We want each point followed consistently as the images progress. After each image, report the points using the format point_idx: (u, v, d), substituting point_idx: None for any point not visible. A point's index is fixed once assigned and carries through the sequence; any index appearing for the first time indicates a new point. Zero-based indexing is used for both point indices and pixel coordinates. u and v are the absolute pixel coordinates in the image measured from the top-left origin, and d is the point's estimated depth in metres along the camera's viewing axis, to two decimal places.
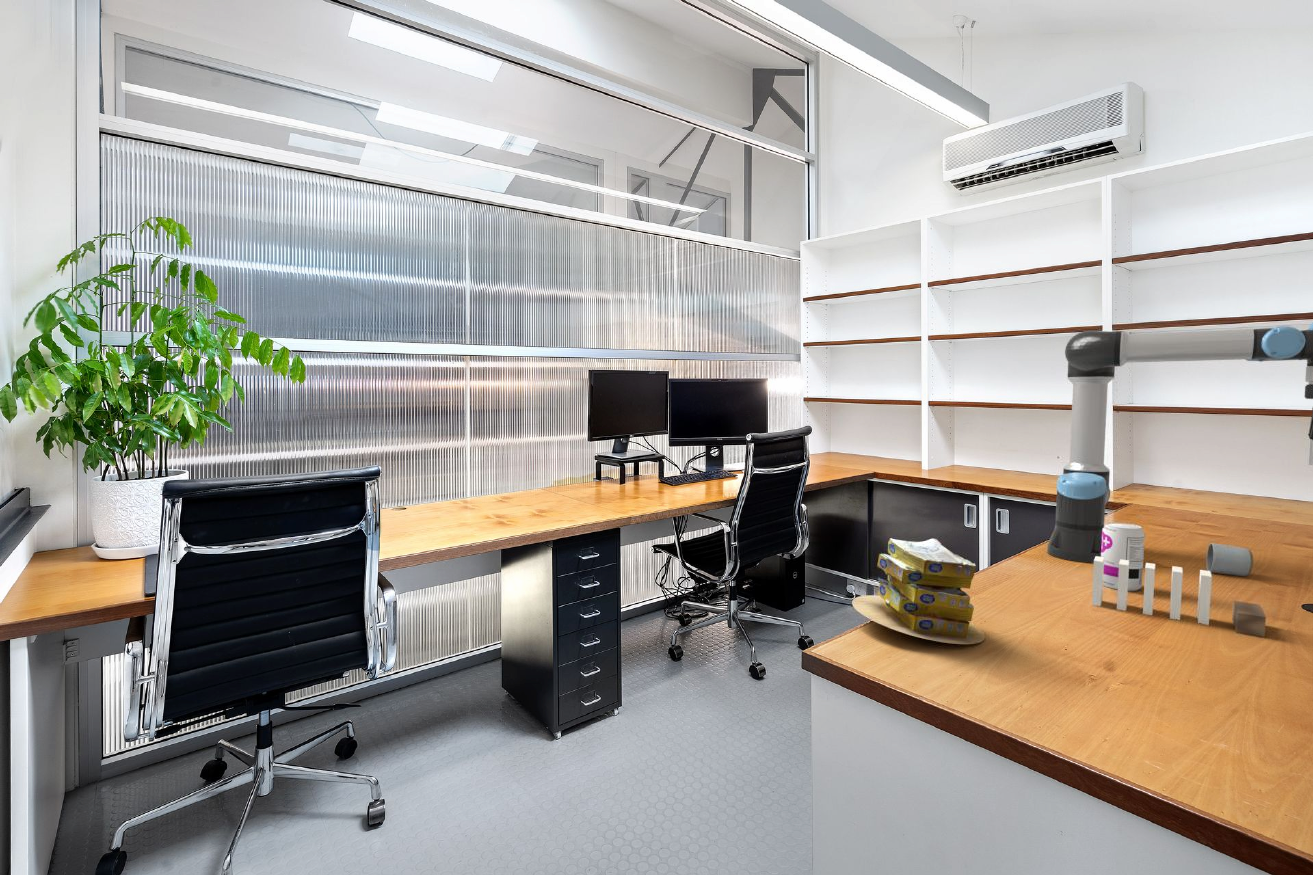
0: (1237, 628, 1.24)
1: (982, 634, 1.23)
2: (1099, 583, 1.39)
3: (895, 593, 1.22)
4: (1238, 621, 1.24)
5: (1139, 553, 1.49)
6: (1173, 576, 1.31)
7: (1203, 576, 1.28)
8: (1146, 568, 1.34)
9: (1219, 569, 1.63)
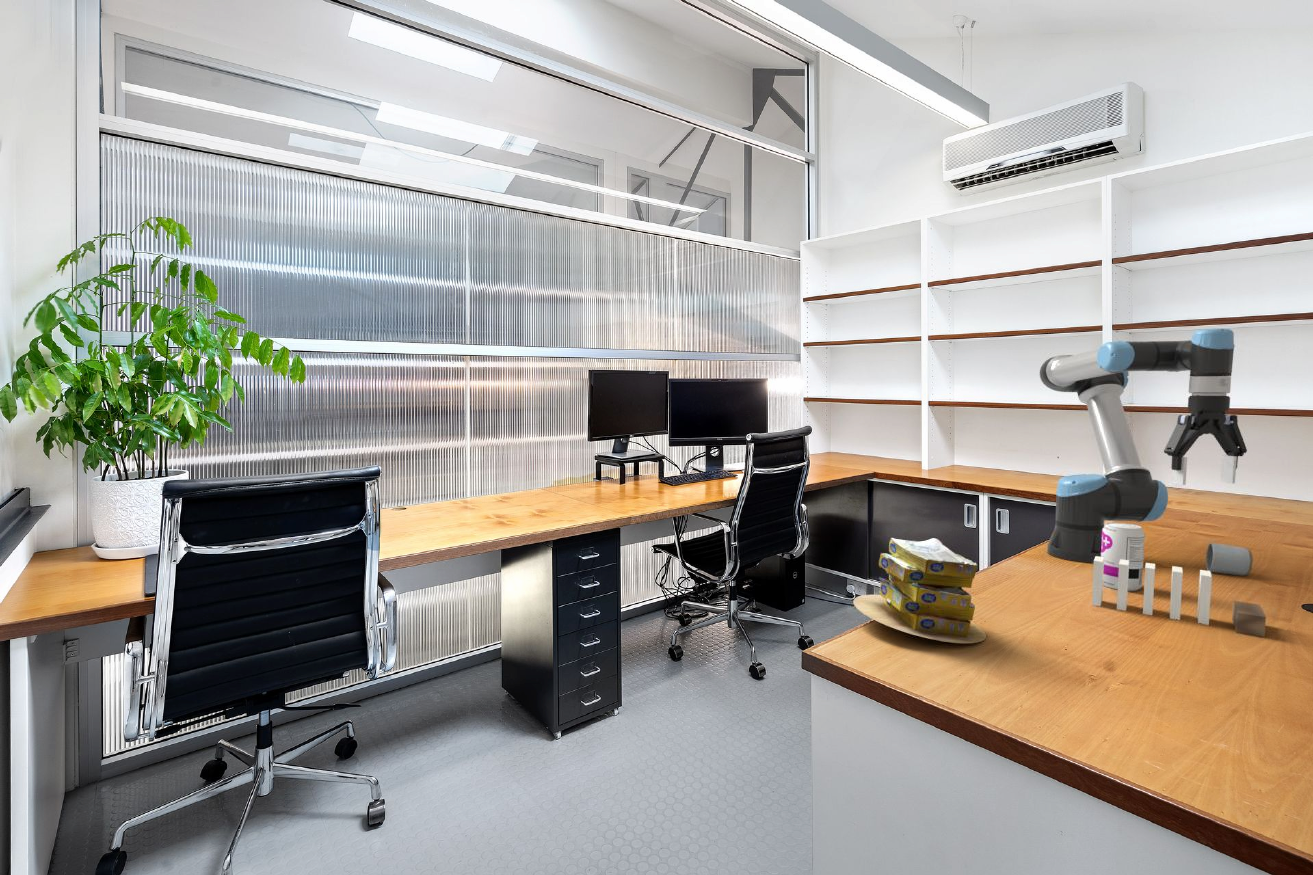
0: (1237, 628, 1.24)
1: (983, 633, 1.24)
2: (1099, 583, 1.39)
3: (896, 592, 1.23)
4: (1238, 621, 1.24)
5: (1139, 553, 1.49)
6: (1173, 576, 1.31)
7: (1203, 576, 1.28)
8: (1146, 568, 1.34)
9: (1218, 569, 1.63)
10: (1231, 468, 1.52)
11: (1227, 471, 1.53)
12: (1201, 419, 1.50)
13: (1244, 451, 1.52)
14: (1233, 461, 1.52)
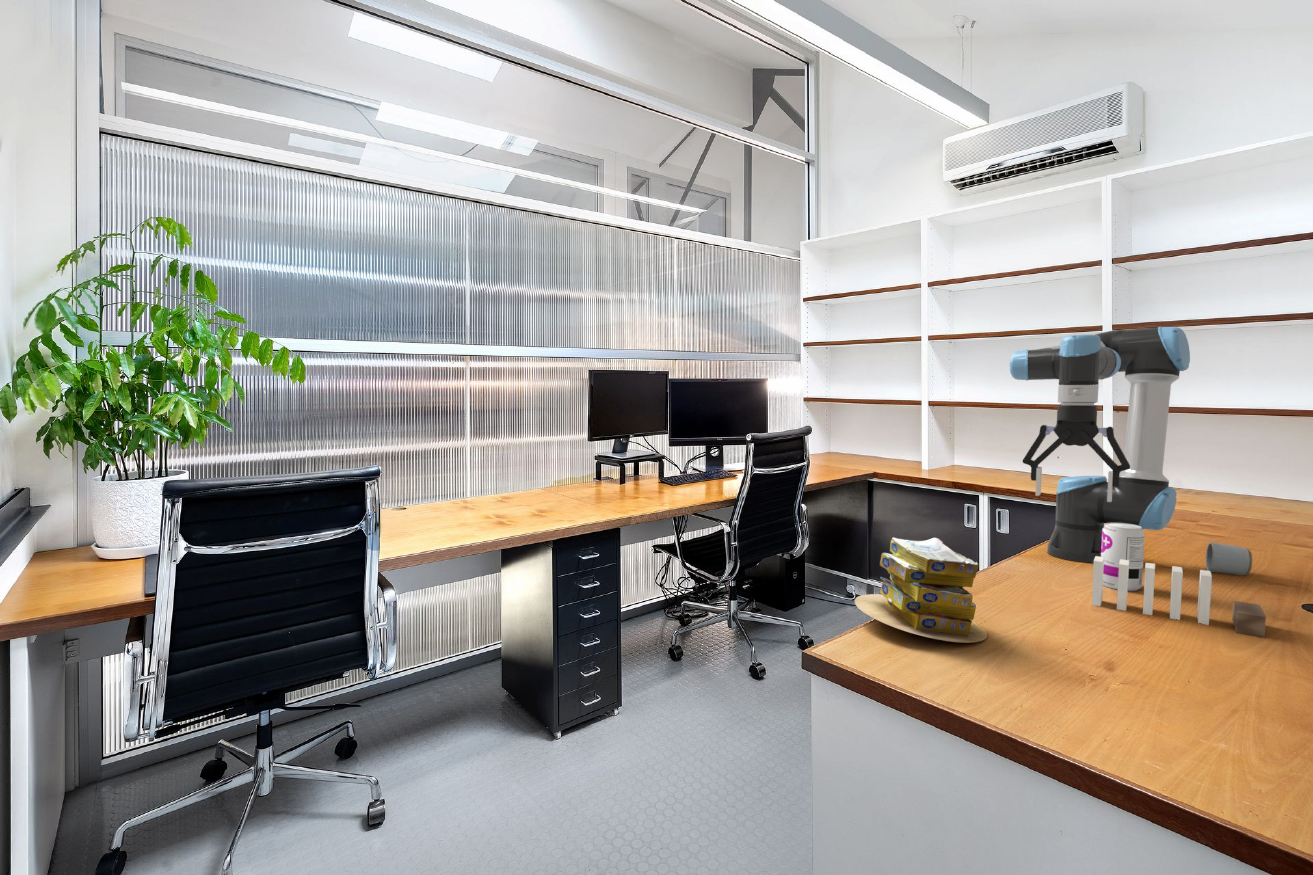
0: (1237, 628, 1.24)
1: (984, 632, 1.24)
2: (1099, 583, 1.39)
3: (898, 592, 1.23)
4: (1238, 621, 1.24)
5: (1139, 553, 1.49)
6: (1173, 576, 1.31)
7: (1203, 576, 1.28)
8: (1146, 568, 1.34)
9: (1218, 568, 1.64)
10: (1108, 485, 1.39)
11: None
12: (1060, 429, 1.44)
13: (1125, 467, 1.37)
14: (1108, 477, 1.39)
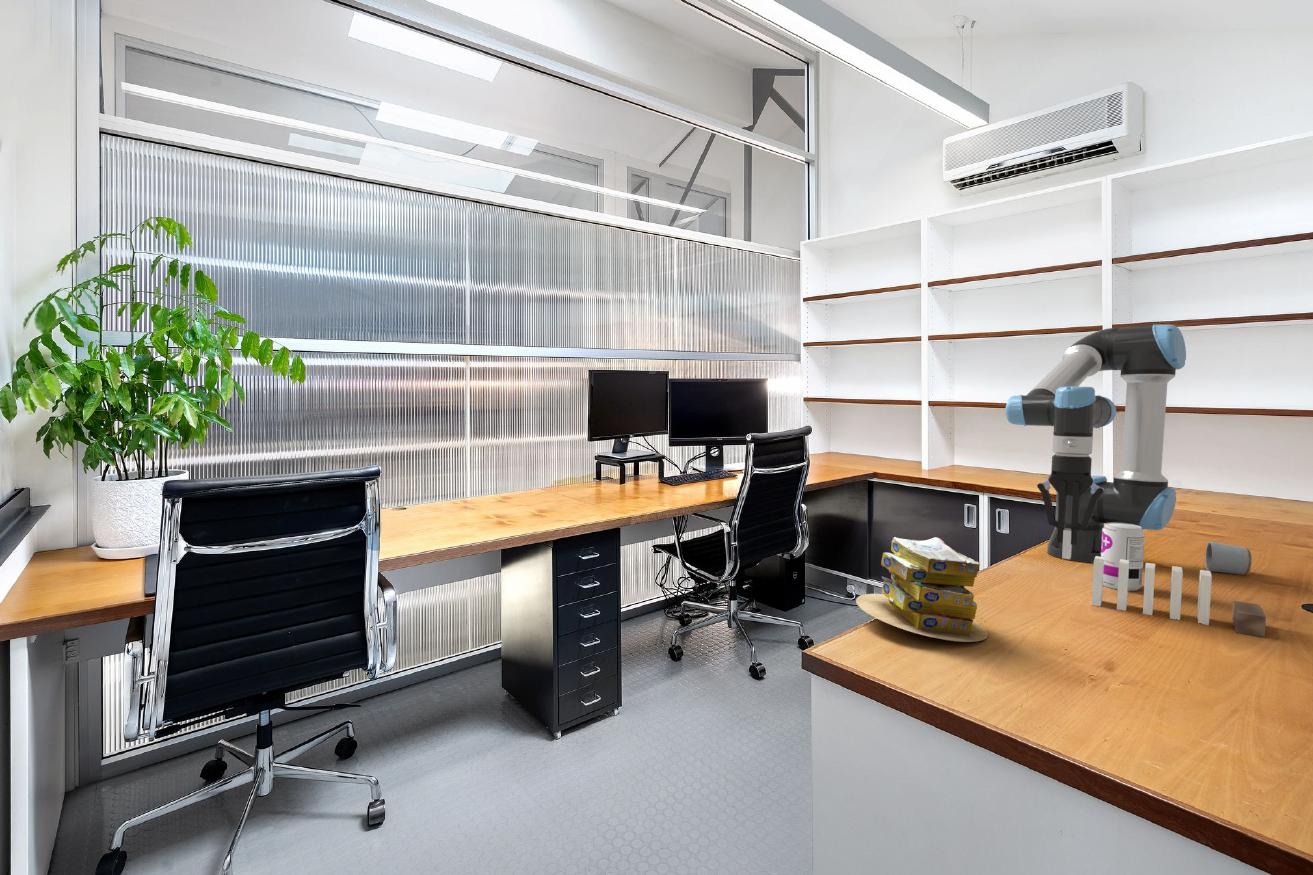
0: (1237, 628, 1.24)
1: (985, 632, 1.24)
2: (1099, 583, 1.39)
3: (899, 591, 1.23)
4: (1238, 621, 1.24)
5: (1139, 553, 1.49)
6: (1173, 576, 1.31)
7: (1203, 576, 1.28)
8: (1146, 568, 1.34)
9: (1217, 568, 1.64)
10: None
11: None
12: (1054, 479, 1.45)
13: (1082, 526, 1.42)
14: (1067, 535, 1.43)
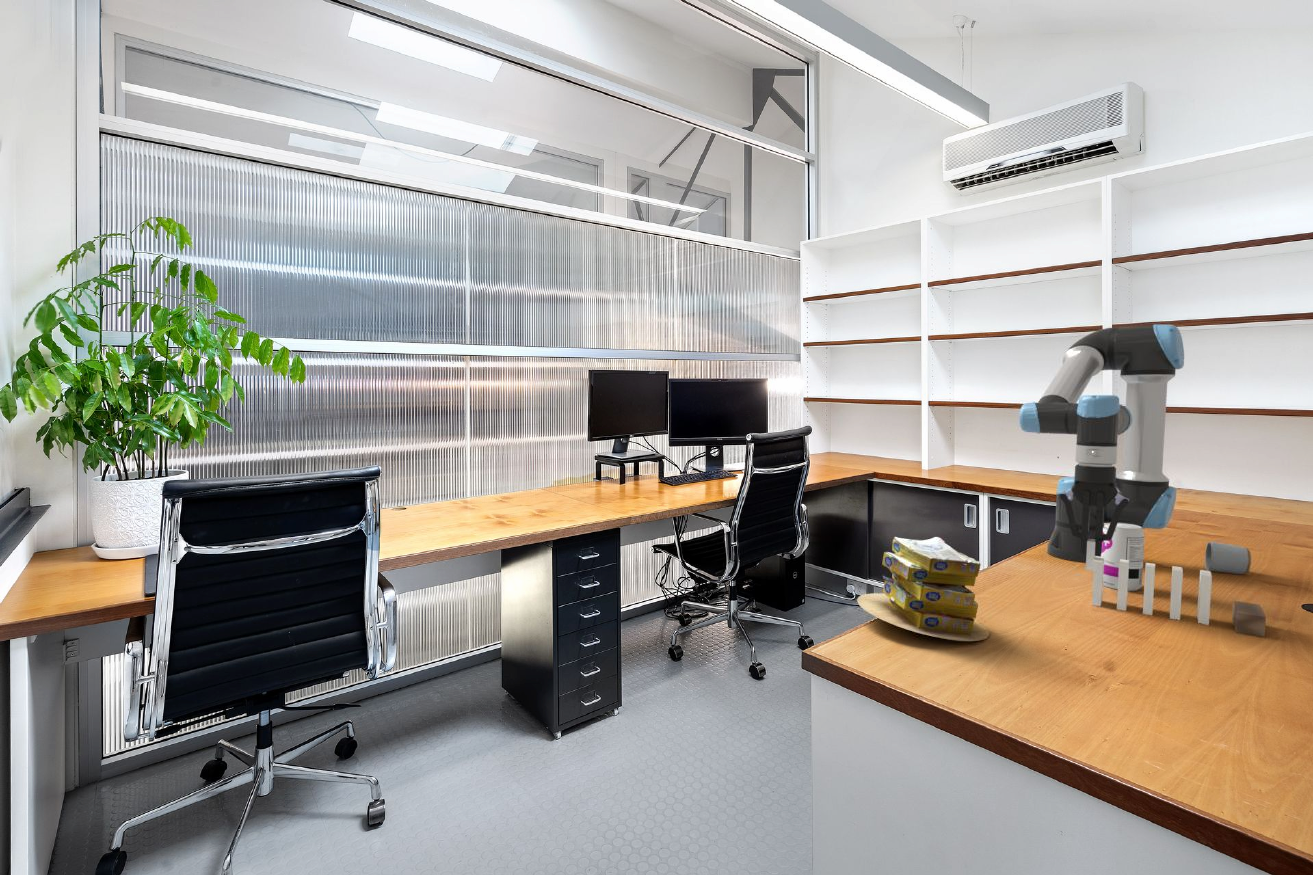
0: (1237, 628, 1.24)
1: (986, 631, 1.25)
2: (1099, 583, 1.39)
3: (901, 591, 1.24)
4: (1238, 621, 1.24)
5: (1139, 553, 1.49)
6: (1173, 576, 1.31)
7: (1203, 576, 1.28)
8: (1146, 568, 1.34)
9: (1217, 567, 1.65)
10: None
11: None
12: (1077, 489, 1.42)
13: (1107, 537, 1.39)
14: (1091, 546, 1.41)
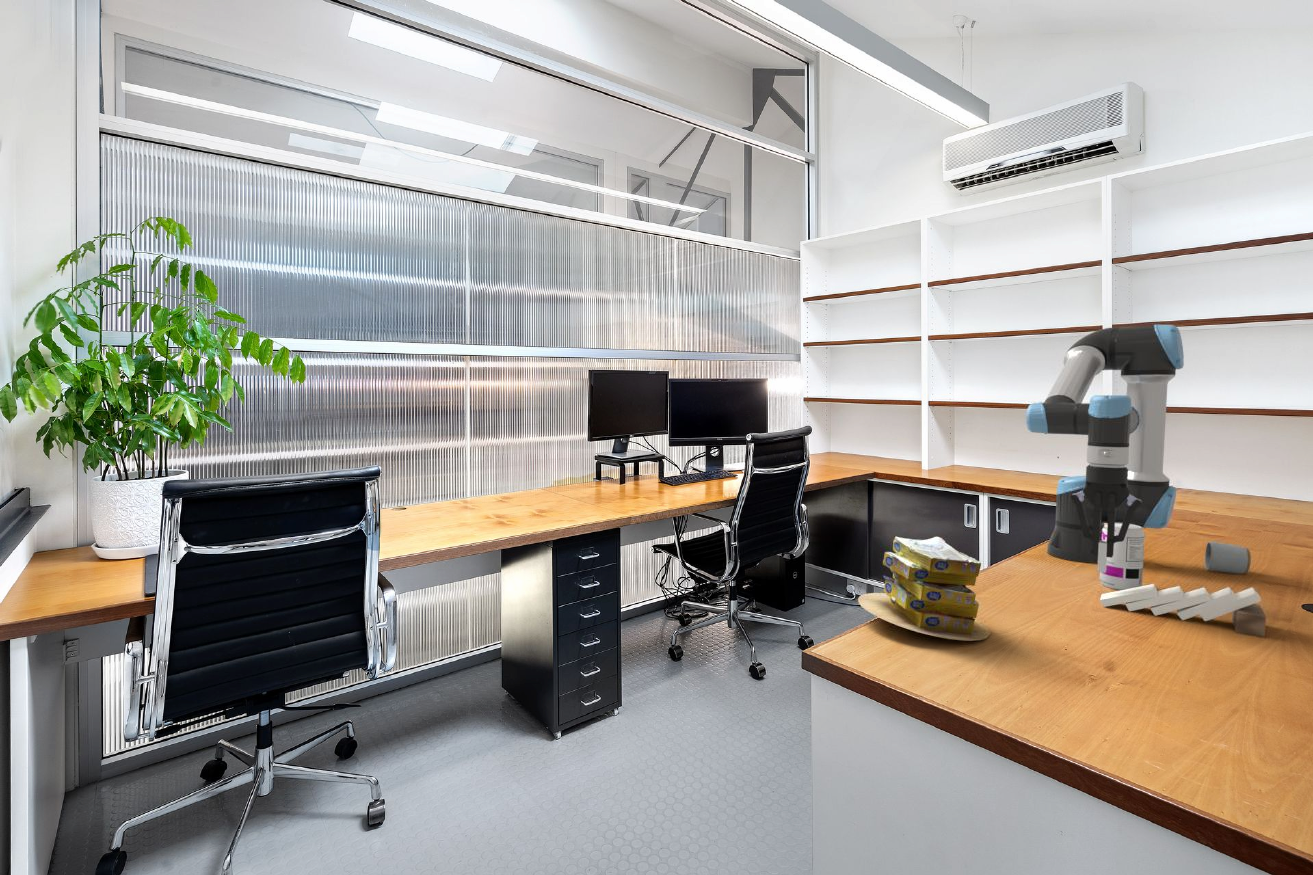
0: (1237, 628, 1.24)
1: (987, 630, 1.25)
2: (1129, 600, 1.36)
3: (901, 591, 1.24)
4: (1238, 621, 1.24)
5: (1139, 553, 1.49)
6: (1225, 595, 1.26)
7: (1255, 595, 1.24)
8: (1205, 594, 1.28)
9: (1217, 567, 1.65)
10: None
11: None
12: (1089, 490, 1.41)
13: (1119, 539, 1.38)
14: (1102, 548, 1.40)
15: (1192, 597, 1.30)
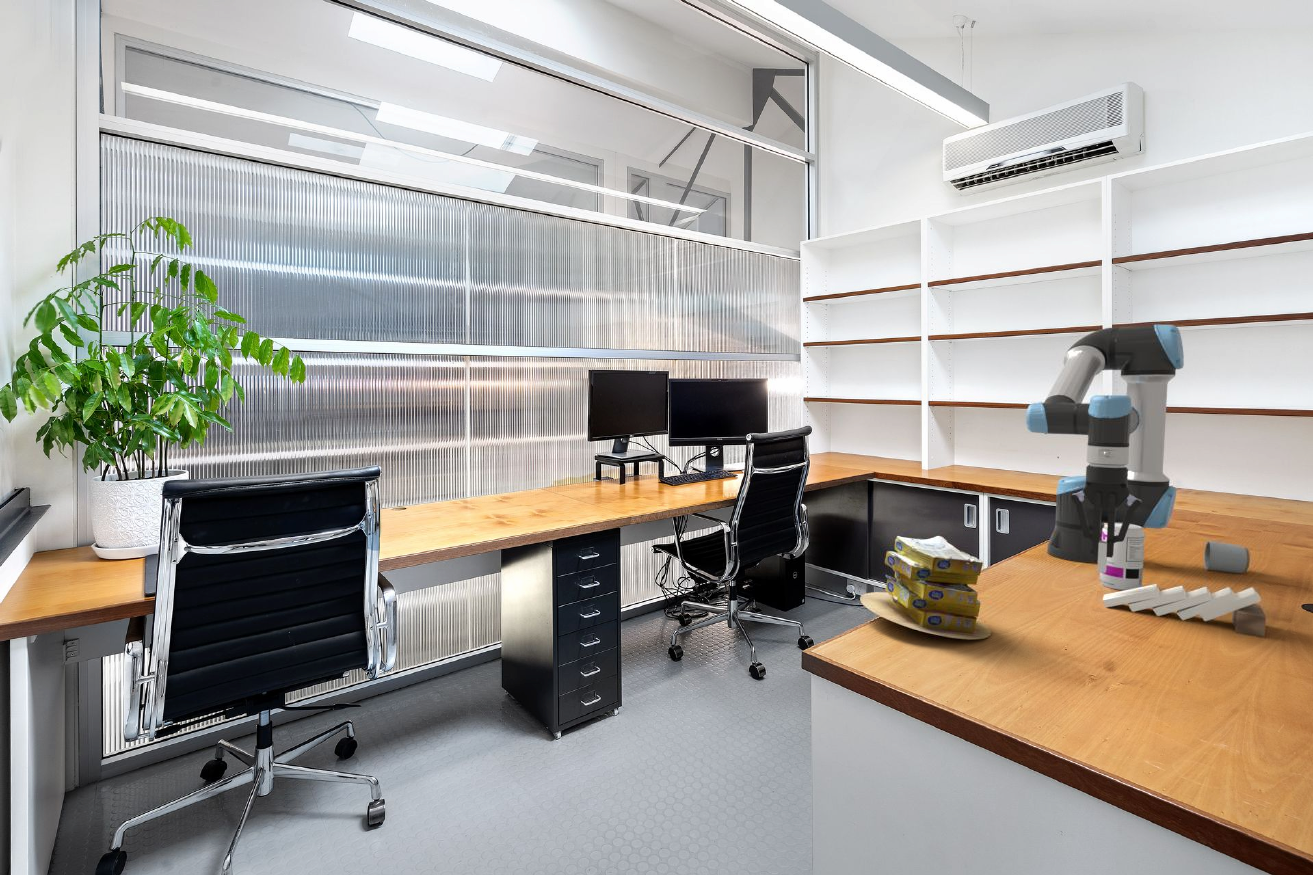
0: (1237, 628, 1.24)
1: (988, 629, 1.26)
2: (1131, 600, 1.36)
3: (904, 590, 1.24)
4: (1238, 621, 1.24)
5: (1139, 553, 1.49)
6: (1225, 595, 1.26)
7: (1255, 595, 1.24)
8: (1207, 593, 1.28)
9: (1216, 566, 1.66)
10: None
11: None
12: (1089, 490, 1.41)
13: (1119, 539, 1.38)
14: (1103, 548, 1.40)
15: (1194, 597, 1.29)
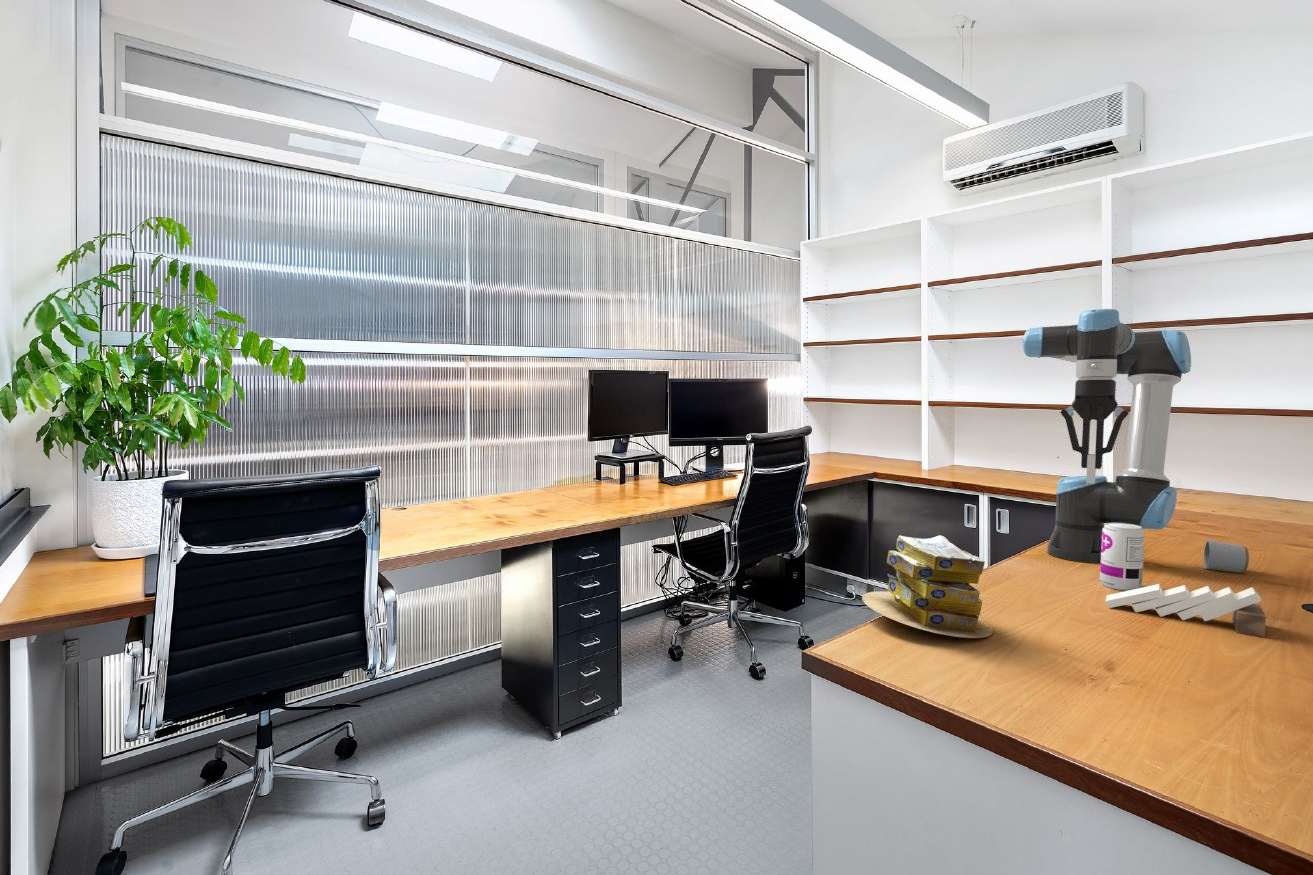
0: (1237, 628, 1.24)
1: (990, 628, 1.26)
2: (1135, 600, 1.35)
3: (906, 589, 1.25)
4: (1238, 621, 1.24)
5: (1139, 553, 1.49)
6: (1225, 595, 1.26)
7: (1255, 595, 1.24)
8: (1209, 592, 1.28)
9: (1215, 566, 1.66)
10: None
11: None
12: (1078, 404, 1.44)
13: (1107, 449, 1.41)
14: (1091, 460, 1.43)
15: (1196, 596, 1.29)
